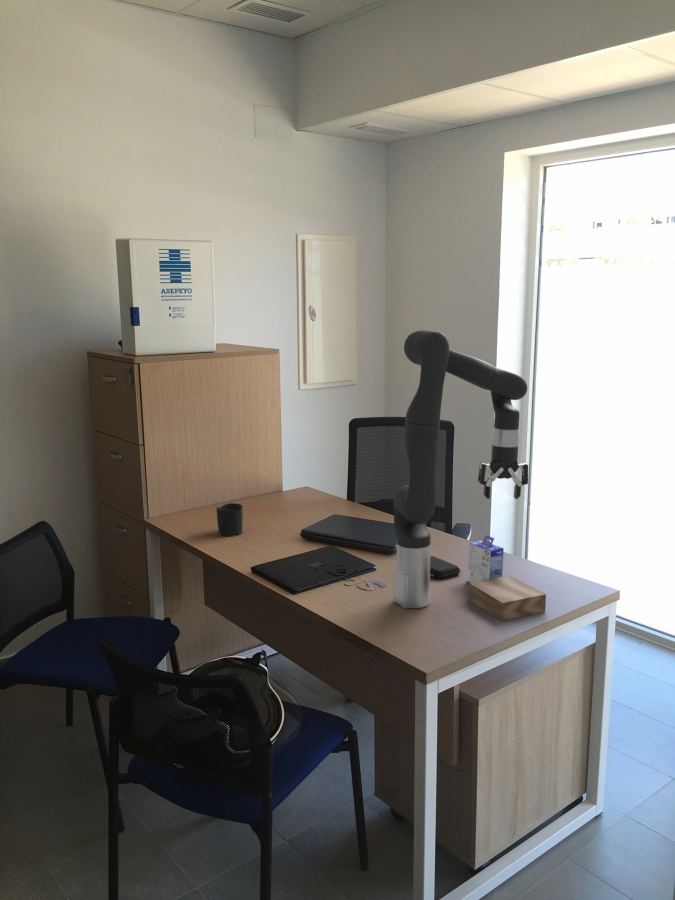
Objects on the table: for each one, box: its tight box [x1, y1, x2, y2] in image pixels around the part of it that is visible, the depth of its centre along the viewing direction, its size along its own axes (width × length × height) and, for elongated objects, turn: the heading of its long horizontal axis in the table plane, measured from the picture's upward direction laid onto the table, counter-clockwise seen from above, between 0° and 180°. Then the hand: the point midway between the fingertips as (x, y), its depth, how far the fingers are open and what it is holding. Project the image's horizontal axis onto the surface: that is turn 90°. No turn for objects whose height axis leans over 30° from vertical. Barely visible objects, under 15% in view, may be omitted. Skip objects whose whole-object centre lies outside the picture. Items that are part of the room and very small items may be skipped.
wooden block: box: [468, 575, 547, 621], centre depth 213 cm, size 14×16×5 cm
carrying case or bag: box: [430, 555, 461, 580], centre depth 241 cm, size 11×3×15 cm
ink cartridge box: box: [467, 534, 505, 583], centre depth 228 cm, size 10×6×14 cm, turn 32°
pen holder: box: [216, 502, 244, 537], centre depth 282 cm, size 9×9×10 cm
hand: (501, 498), depth 226 cm, fingers open, 8 cm apart
